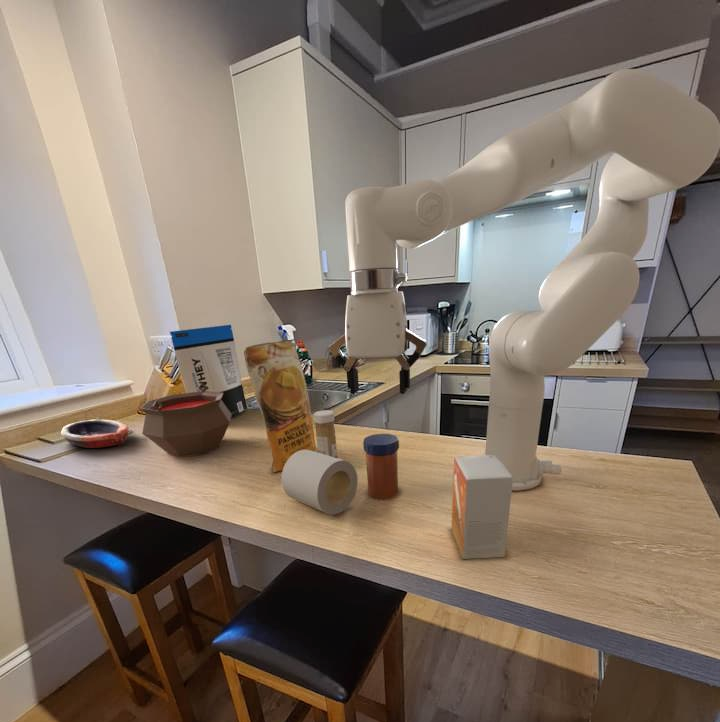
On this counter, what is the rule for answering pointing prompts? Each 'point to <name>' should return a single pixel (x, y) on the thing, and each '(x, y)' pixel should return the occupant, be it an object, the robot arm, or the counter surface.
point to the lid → (381, 444)
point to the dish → (95, 433)
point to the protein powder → (210, 364)
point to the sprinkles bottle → (325, 432)
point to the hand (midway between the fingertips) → (378, 392)
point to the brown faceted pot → (187, 422)
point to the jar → (382, 475)
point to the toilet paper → (320, 481)
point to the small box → (481, 506)
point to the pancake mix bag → (281, 398)
